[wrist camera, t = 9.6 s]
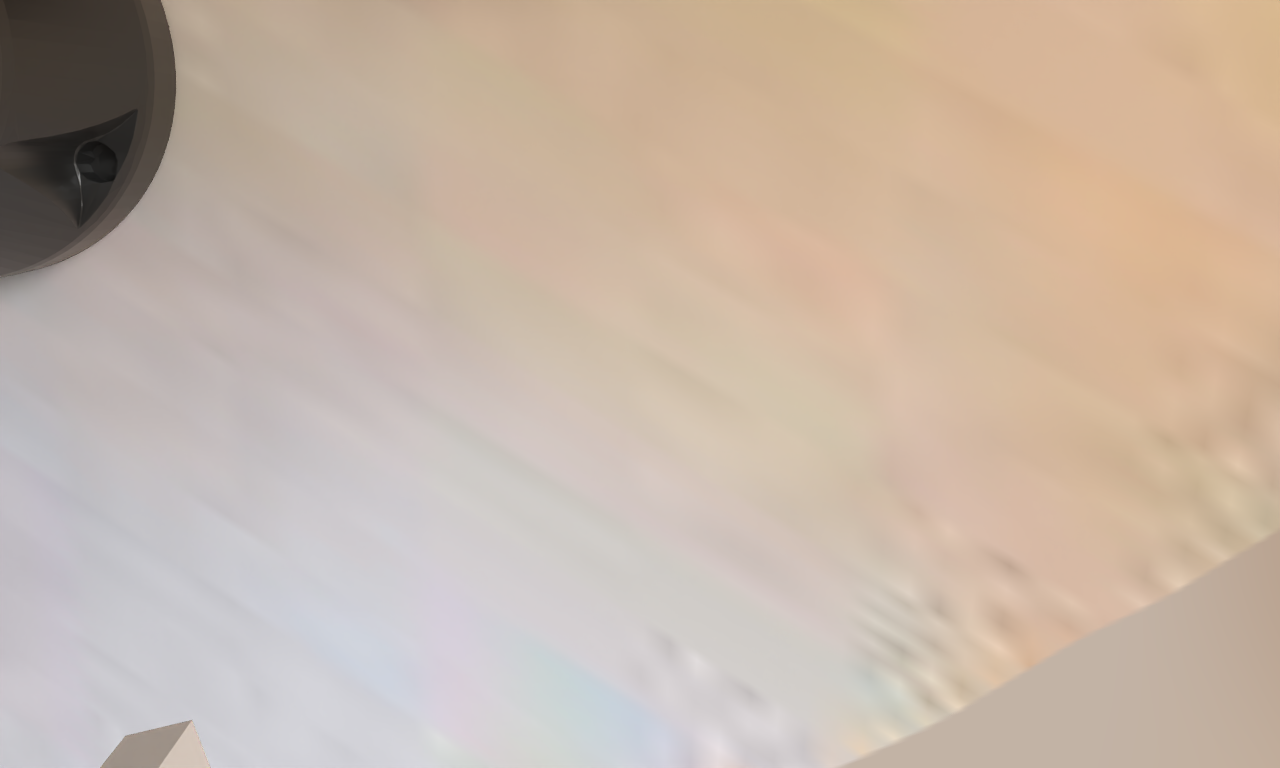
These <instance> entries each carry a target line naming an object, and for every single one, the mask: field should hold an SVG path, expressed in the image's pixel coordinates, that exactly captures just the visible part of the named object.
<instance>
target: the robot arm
mask: <svg viewBox="0 0 1280 768" xmlns="http://www.w3.org/2000/svg"><path fill="white" fill-rule="evenodd" d="M175 96H176V71H175V58H174V51H173V45H172V39H171V35H170V30H169V26H168V22H167V19H166V15H165V12H164V8H163V6H162V3H161V0H0V277H5V276H10V275H15V274H19V273H23V272H27V271H31V270H36V269H39V268H42V267H46V266H49V265H52V264H55V263H57V262H60V261H63V260H65V259H67V258H69V257H72V256H74V255H76V254H78V253H80V252H81V251H83V250H85V249H87V248H88V247H90V246H92V245H93V244H95V243H96V242H97V241H99V240H100V239H102V238H103V237H104V236H106V235H107V234H108V233H109V232H110V231H112V230H113V229H114V228H115V227H116V226H117V225H118V224H119V223H120V222H121V221H122V220H123V219H124V218H125V217H126V216H127V215H128V214H129V213H130V212H131V210H132V209H133V208H134V207H135V206H136V204H137V203H138V202H139V200H140V199H141V197H142V196H143V195H144V193H145V192H146V190H147V188H148V187H149V185H150V183H151V182H152V180H153V178H154V176H155V174H156V172H157V170H158V168H159V165H160V163H161V160H162V158H163V155H164V153H165V149H166V146H167V143H168V140H169V136H170V131H171V127H172V122H173V115H174V109H175ZM100 768H210V765H209V763H208V760H207V757H206V755H205V752H204V750H203V747H202V745H201V742H200V739H199V737H198V734H197V732H196V729H195V726H194V724H193V721H192V720H190V721H186V722H182V723H178V724H173V725H169V726H165V727H161V728H157V729H152V730H148V731H144V732H140V733H135V734H131V735H127V736H125V737H124V738H123V740H122V741H121V742H120V743H119V745H118V746H117V747H116V748H115V750H114V751H113V752H112V753H111V755H110V756H109V757H108V759H107V760H106V761H105V762H104V764H103V765H102V766H101V767H100Z"/></svg>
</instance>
